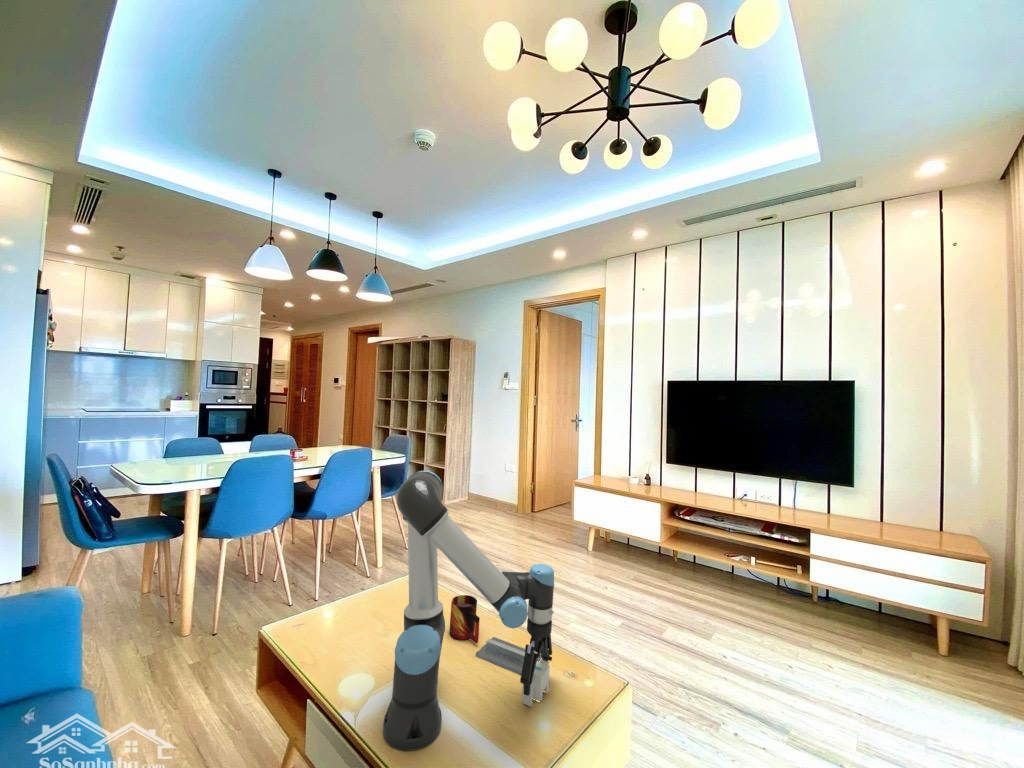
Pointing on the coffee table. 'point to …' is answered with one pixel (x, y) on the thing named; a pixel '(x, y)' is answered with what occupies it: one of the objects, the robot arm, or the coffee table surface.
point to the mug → (464, 619)
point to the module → (540, 680)
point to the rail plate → (503, 654)
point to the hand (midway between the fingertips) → (535, 692)
